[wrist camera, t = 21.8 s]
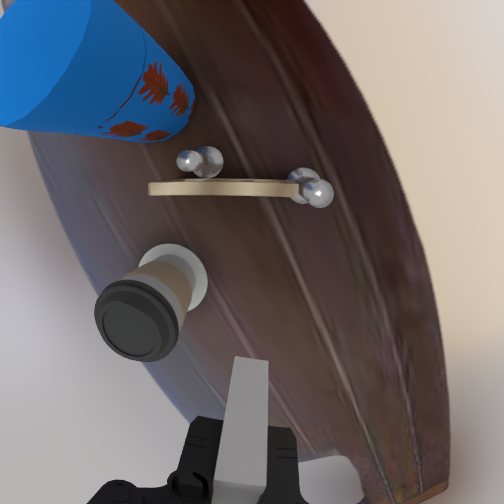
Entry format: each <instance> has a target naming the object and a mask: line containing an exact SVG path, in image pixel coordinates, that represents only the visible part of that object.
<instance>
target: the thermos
mask: <svg viewBox="0 0 504 504" xmlns="http://www.w3.org/2000/svg"><path fill="white" fill-rule="evenodd" d="M194 105H195V94H194V89H193V85H192V84H191V82H190V81H189V80H188V78H187V77H186V75H185V74H184V72H183V71H182V70H181V68H180V67H179V66H178V65H177V63H176V62H175V61H174V60H173V59H172V58H171V57H170V56H169V55H168V54H167V53H166V52H165V51H164V50H163V49H162V48H161V47H160V46H159V45H158V44H157V43H156V42H155V41H154V39H153V38H152V37H151V36H150V35H149V34H148V33H147V32H146V31H145V30H144V29H143V28H142V27H141V26H140V25H139V24H138V23H137V22H136V21H135V20H133V19H132V18H131V17H130V16H129V15H128V14H127V13H126V12H125V11H124V10H123V9H122V8H121V7H120V6H119V5H118V4H117V3H116V2H115V1H114V0H16V1H15V2H14V3H13V4H12V5H11V6H10V7H9V8H8V9H7V11H6V12H5V13H4V15H3V16H2V17H1V19H0V126H2V127H7V128H13V129H19V130H29V131H44V132H57V133H68V134H78V135H87V136H96V137H104V138H112V139H119V140H126V141H133V142H143V143H152V142H159V141H165V140H167V139H169V138H171V137H173V136H175V135H177V134H178V133H179V132H180V131H181V130H182V129H183V128H184V127H185V126H186V125H187V123H188V121H189V119H190V117H191V115H192V114H193V112H194Z"/></svg>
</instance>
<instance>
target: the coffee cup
mask: <svg viewBox="0 0 504 504" xmlns="http://www.w3.org/2000/svg"><path fill="white" fill-rule="evenodd" d="M195 285H196V277H195V273H194V271H193V269H192V267H191V266H190V265H189V263H188V262H187V261H185V260H184V259H183V258H181V257H179V256H176V255H171V254H166V255H161V256H159V257H157V258H156V259H154V260H152V261H151V262H148V263H146V264H144V265H142V266H140V267H139V268H137V269H135V270H134V271H132V272H131V273H129V274H127V275H126V276H124V277H122V278H121V279H120V280H119V281H116V282H113V283H111V284H110V285H108V286H107V287H106V288H105V289H104V290H103V292H102V293H101V294H100V296H99V297H98V299H97V301H96V304H95V310H94V315H95V321H96V324H97V327H98V330H99V332H100V334H101V336H102V338H103V339H104V341H105V342H106V344H107V345H108V346H109V347H110V348H111V349H112V350H113V351H115V352H116V353H117V354H119V355H121V356H123V357H125V358H128V359H131V360H136V361H141V362H153V361H158V360H160V359H162V358H164V357H166V356H167V355H168V354H169V353H170V352H171V350H172V349H173V348H174V346H175V345H176V342H177V340H178V336H179V332H180V330H181V328H182V325H183V322H184V319H185V317H186V314H187V311H188V308H189V306H190V303H191V299H192V294H193V291H194V289H195Z"/></svg>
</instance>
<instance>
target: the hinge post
mask: <svg viewBox="0 0 504 504" xmlns="http://www.w3.org/2000/svg"><path fill="white" fill-rule="evenodd" d="M286 180H292V181H293V182H295V183H297V184H299V192H298V197H290V198H291V199H292V200H294V201H295V202H297V203H301V204H307V203H310V204H311V205H312V206H314V207H317V208H323V207H326V206H327V205H329V204H330V203H331V201H332V199H333V196H334V192H333V188H332V186H331V185H330V184H329V183H328V182H327V181H325V180H321V179H320V177H319V176H318V174H317V173H316V172H315V171H313V170H311V169H309V168H298V169H295V170H293V171H292V172H291V173H290V174H289V175H288V177H287V179H286Z"/></svg>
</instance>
